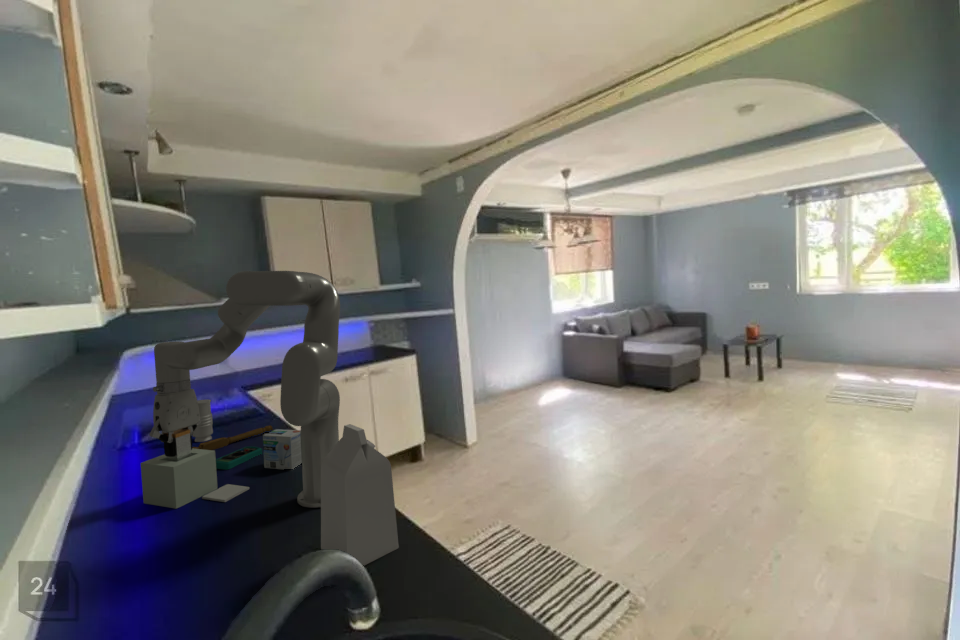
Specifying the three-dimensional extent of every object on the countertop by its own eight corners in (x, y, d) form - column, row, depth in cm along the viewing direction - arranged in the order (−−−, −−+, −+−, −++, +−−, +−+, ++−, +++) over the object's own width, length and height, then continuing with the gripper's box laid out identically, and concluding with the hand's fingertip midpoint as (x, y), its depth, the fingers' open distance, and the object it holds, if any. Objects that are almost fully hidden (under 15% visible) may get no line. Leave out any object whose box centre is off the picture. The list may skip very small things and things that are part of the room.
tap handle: (272, 425, 175) (191, 448, 150) (273, 432, 175) (192, 456, 150) (268, 424, 177) (187, 446, 151) (268, 431, 177) (188, 455, 151)
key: (177, 467, 116) (175, 434, 115) (166, 466, 117) (163, 433, 116) (192, 462, 120) (190, 429, 119) (181, 460, 121) (178, 428, 120)
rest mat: (249, 489, 122) (249, 486, 122) (224, 502, 114) (224, 499, 114) (227, 486, 124) (227, 484, 124) (202, 498, 117) (202, 496, 117)
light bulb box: (263, 468, 137) (261, 435, 136) (278, 460, 143) (276, 428, 143) (292, 470, 134) (290, 436, 134) (306, 462, 141) (304, 429, 140)
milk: (320, 548, 91) (314, 428, 90) (369, 527, 99) (364, 416, 98) (348, 573, 83) (341, 440, 81) (398, 547, 91) (393, 426, 89)
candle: (217, 438, 169) (214, 400, 168) (198, 443, 163) (195, 404, 162) (208, 435, 173) (205, 398, 172) (189, 440, 167) (186, 402, 166)
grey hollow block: (217, 488, 123) (215, 450, 122) (176, 508, 111) (173, 467, 111) (186, 484, 126) (183, 447, 126) (143, 503, 115) (140, 462, 114)
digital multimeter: (264, 454, 150) (263, 446, 150) (228, 471, 136) (227, 462, 136) (247, 453, 152) (247, 445, 152) (210, 469, 138) (209, 460, 138)
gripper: (152, 394, 108) (158, 466, 109) (212, 381, 124) (216, 443, 125) (131, 393, 110) (137, 463, 111) (192, 380, 126) (196, 442, 127)
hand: (178, 452), depth 118 cm, fingers closed on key, 4 cm apart
